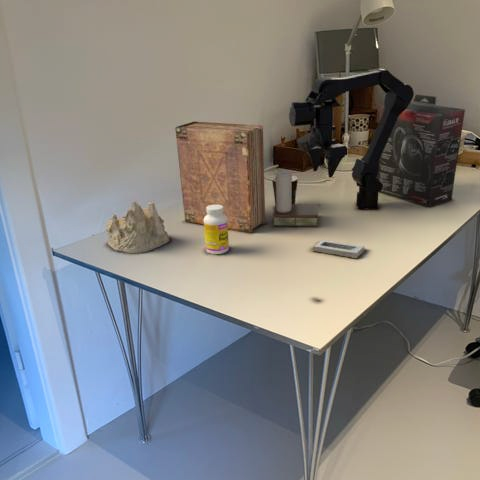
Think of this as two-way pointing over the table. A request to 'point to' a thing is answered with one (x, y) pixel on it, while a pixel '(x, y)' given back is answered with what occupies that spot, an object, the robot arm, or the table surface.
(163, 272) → the table surface
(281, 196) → the beverage can
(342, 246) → the picture frame
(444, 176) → the headset box
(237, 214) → the book
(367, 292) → the table surface
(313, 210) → the dark wooden slab
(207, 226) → the supplement bottle
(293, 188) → the coffee mug
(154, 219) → the beige rock formation
